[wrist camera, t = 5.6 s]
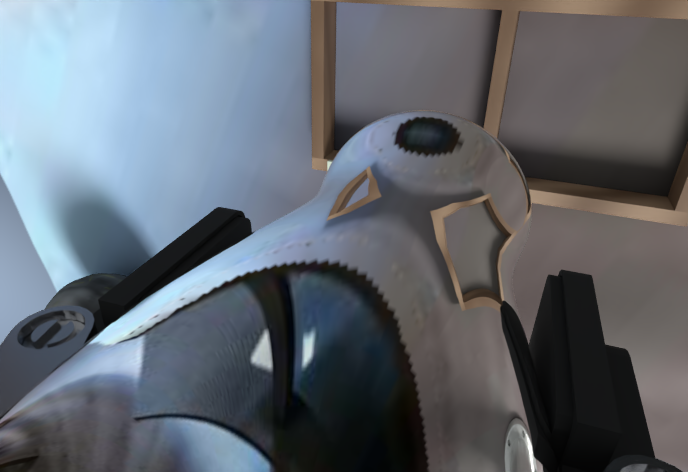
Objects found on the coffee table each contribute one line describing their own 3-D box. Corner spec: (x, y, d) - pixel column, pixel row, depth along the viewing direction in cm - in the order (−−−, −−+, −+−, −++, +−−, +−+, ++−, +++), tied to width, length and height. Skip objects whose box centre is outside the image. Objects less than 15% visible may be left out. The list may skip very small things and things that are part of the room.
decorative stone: (176, 264, 45) (92, 330, 37) (192, 350, 50) (120, 427, 41) (88, 245, 48) (-8, 303, 40) (111, 328, 53) (29, 395, 44)
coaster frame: (758, 1, 24) (776, 3, 22) (678, 211, 29) (687, 229, 27) (324, -17, 30) (308, -15, 28) (323, 159, 35) (310, 170, 33)
